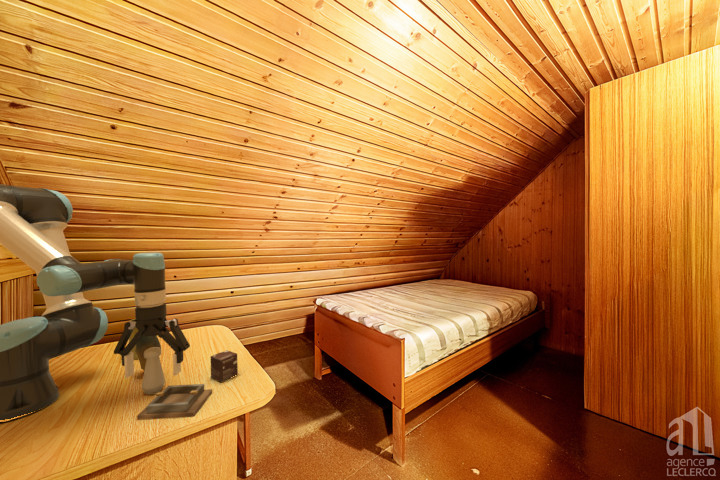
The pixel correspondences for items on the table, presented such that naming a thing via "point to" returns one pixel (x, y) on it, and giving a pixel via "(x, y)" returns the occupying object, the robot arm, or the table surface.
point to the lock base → (176, 402)
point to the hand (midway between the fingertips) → (153, 374)
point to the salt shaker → (153, 372)
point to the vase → (131, 339)
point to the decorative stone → (145, 348)
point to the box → (224, 366)
